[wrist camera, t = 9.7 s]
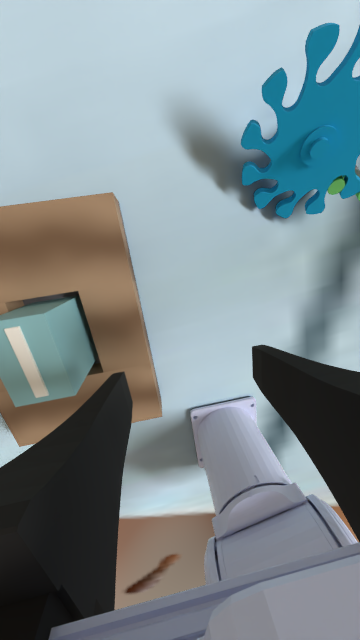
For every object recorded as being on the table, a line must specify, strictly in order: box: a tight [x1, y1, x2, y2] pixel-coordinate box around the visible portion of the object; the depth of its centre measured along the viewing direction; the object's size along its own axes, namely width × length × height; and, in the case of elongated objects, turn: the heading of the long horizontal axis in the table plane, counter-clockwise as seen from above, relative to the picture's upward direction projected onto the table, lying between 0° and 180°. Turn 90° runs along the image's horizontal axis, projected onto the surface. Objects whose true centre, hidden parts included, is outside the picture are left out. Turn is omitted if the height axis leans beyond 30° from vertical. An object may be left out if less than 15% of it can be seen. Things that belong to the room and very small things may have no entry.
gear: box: [241, 23, 360, 218], centre depth 14 cm, size 11×6×10 cm
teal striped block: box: [0, 295, 98, 407], centre depth 15 cm, size 6×4×6 cm, turn 8°
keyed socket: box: [0, 192, 162, 447], centre depth 18 cm, size 20×14×2 cm
